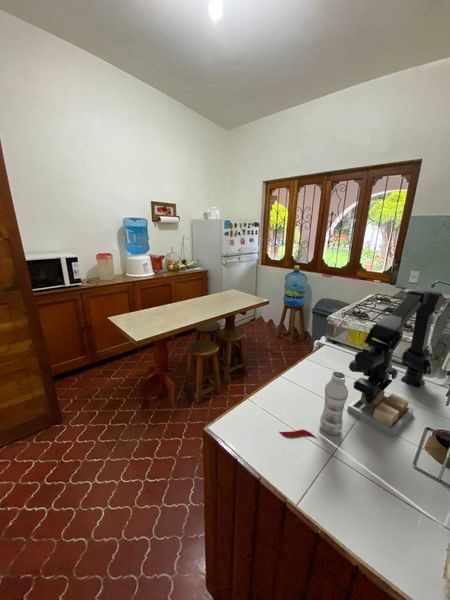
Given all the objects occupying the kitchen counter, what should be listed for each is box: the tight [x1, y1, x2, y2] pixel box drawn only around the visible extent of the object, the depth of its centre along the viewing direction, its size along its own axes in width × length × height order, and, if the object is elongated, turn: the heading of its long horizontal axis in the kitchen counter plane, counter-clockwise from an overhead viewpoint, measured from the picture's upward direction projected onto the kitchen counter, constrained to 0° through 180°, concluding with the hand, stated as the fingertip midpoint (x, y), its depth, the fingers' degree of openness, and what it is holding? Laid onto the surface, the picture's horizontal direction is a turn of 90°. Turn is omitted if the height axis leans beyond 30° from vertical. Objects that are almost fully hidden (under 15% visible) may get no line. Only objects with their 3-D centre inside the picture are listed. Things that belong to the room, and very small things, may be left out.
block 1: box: [360, 389, 386, 409], centre depth 85 cm, size 5×5×5 cm
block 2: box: [373, 403, 399, 428], centre depth 79 cm, size 5×5×5 cm
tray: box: [347, 394, 415, 438], centre depth 84 cm, size 16×14×2 cm
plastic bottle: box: [319, 371, 349, 436], centre depth 75 cm, size 6×7×20 cm
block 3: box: [385, 392, 410, 420], centre depth 83 cm, size 5×5×5 cm
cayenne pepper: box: [279, 429, 317, 439], centre depth 76 cm, size 12×5×2 cm, turn 69°
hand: (371, 399), depth 86 cm, fingers closed on block 1, 5 cm apart
